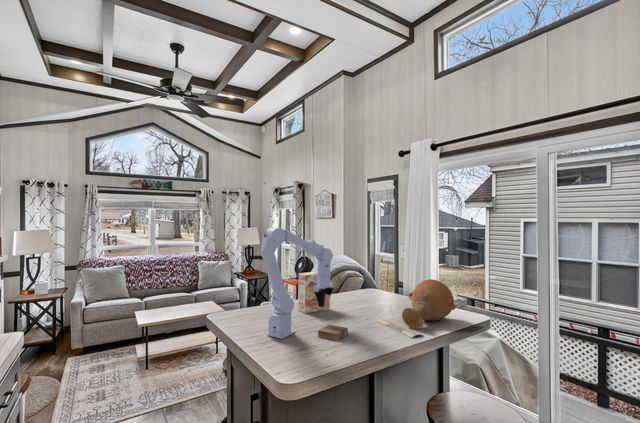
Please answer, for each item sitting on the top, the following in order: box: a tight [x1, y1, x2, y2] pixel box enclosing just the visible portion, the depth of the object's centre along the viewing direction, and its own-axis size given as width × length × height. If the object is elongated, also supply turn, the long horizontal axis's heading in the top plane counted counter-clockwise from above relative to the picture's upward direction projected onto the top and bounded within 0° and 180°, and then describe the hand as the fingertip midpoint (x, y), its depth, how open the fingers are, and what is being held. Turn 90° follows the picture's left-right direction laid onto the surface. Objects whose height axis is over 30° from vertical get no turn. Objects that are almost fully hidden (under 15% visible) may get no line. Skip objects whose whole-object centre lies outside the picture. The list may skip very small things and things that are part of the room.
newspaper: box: [377, 318, 424, 339], centre depth 143 cm, size 24×7×2 cm, turn 26°
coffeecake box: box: [297, 271, 321, 314], centre depth 173 cm, size 15×7×20 cm, turn 126°
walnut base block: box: [317, 324, 349, 342], centre depth 134 cm, size 9×9×3 cm
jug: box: [401, 278, 456, 330], centre depth 153 cm, size 20×19×30 cm
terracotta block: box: [317, 294, 331, 311], centre depth 145 cm, size 4×4×6 cm
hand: (323, 305), depth 145 cm, fingers closed on terracotta block, 4 cm apart
